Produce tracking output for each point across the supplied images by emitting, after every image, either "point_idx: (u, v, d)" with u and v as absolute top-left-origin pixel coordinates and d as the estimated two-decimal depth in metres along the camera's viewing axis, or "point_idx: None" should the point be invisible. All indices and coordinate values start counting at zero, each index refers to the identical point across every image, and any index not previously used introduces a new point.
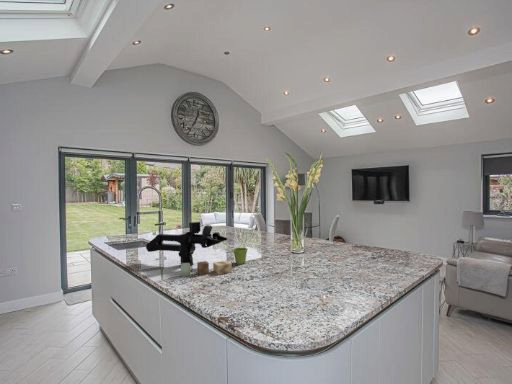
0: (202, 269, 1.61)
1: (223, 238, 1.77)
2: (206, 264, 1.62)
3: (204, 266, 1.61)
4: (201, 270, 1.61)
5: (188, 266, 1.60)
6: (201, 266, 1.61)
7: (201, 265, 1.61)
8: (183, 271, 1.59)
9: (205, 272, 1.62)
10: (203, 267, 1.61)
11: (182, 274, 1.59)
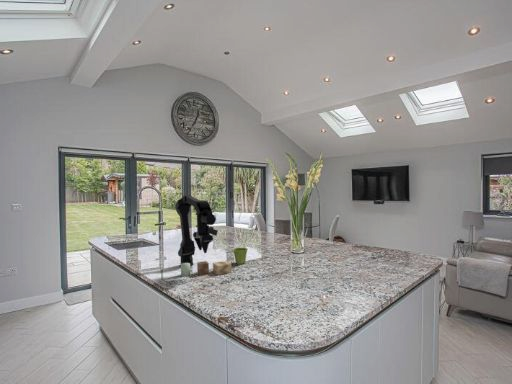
0: (202, 269, 1.61)
1: (200, 246, 1.68)
2: (206, 264, 1.62)
3: (204, 266, 1.61)
4: (201, 270, 1.61)
5: (188, 266, 1.60)
6: (201, 266, 1.61)
7: (201, 265, 1.61)
8: (183, 271, 1.59)
9: (205, 272, 1.62)
10: (203, 267, 1.61)
11: (182, 274, 1.59)
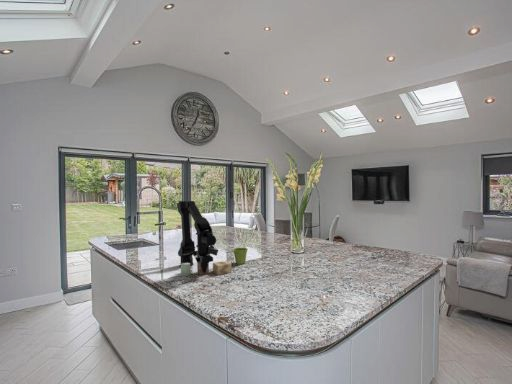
0: None
1: None
2: None
3: None
4: (201, 270, 1.61)
5: (188, 266, 1.60)
6: None
7: None
8: (183, 271, 1.59)
9: (205, 272, 1.62)
10: None
11: (182, 274, 1.59)
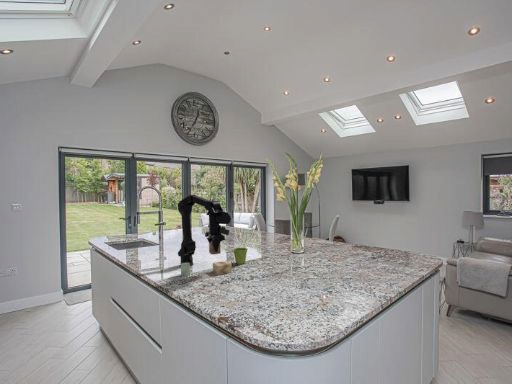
0: None
1: None
2: None
3: None
4: (213, 249, 1.62)
5: (188, 266, 1.60)
6: None
7: None
8: (183, 271, 1.59)
9: None
10: None
11: (182, 274, 1.59)
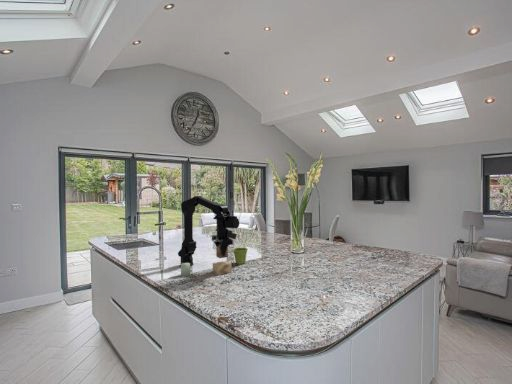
0: (221, 252, 1.64)
1: None
2: None
3: None
4: (220, 253, 1.63)
5: (188, 266, 1.60)
6: (220, 249, 1.63)
7: None
8: (183, 271, 1.59)
9: None
10: None
11: (182, 274, 1.59)
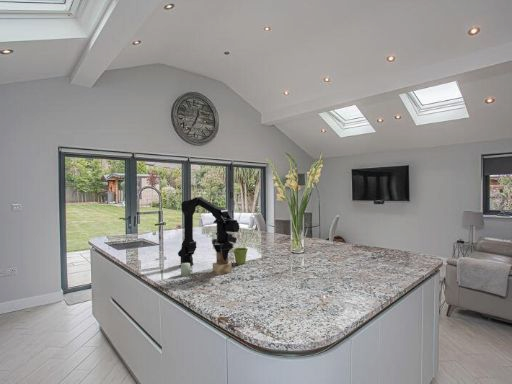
0: (222, 259, 1.63)
1: None
2: None
3: None
4: (221, 260, 1.63)
5: (188, 266, 1.60)
6: (221, 256, 1.63)
7: (221, 255, 1.63)
8: (183, 271, 1.59)
9: (224, 262, 1.64)
10: (222, 257, 1.64)
11: (182, 274, 1.59)
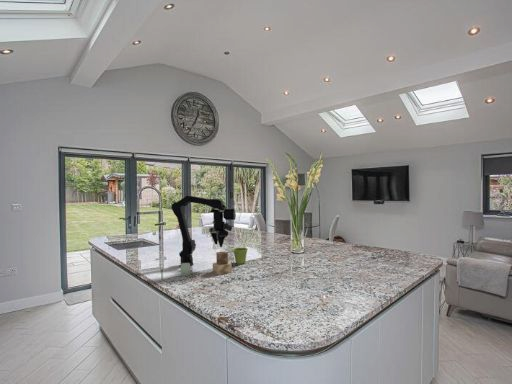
0: (221, 259, 1.63)
1: (216, 240, 1.82)
2: (225, 254, 1.64)
3: (223, 256, 1.64)
4: (220, 260, 1.63)
5: (188, 266, 1.60)
6: (220, 256, 1.63)
7: (220, 255, 1.63)
8: (183, 271, 1.59)
9: (224, 262, 1.64)
10: (222, 257, 1.64)
11: (182, 274, 1.59)
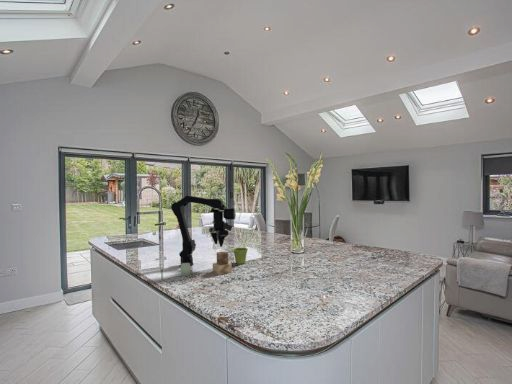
0: (222, 259, 1.63)
1: (216, 240, 1.82)
2: (225, 254, 1.64)
3: (224, 256, 1.64)
4: (221, 260, 1.63)
5: (188, 266, 1.60)
6: (221, 256, 1.63)
7: (221, 255, 1.63)
8: (183, 271, 1.59)
9: (224, 262, 1.64)
10: (223, 257, 1.63)
11: (182, 274, 1.59)
